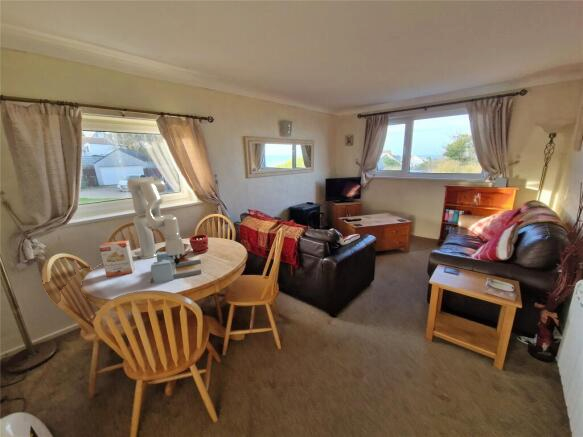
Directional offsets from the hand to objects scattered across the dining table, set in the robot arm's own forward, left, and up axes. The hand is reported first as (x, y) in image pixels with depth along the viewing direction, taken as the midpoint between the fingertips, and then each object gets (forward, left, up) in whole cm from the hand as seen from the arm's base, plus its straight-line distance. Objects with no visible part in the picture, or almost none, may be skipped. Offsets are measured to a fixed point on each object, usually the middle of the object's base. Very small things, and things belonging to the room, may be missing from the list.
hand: (177, 263), depth 148 cm
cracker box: (-35, +13, -6) cm, 37 cm away
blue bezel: (-8, 0, -6) cm, 9 cm away
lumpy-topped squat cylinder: (-8, 0, -6) cm, 10 cm away
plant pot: (+13, +30, -6) cm, 34 cm away
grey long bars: (-1, 0, -6) cm, 6 cm away
